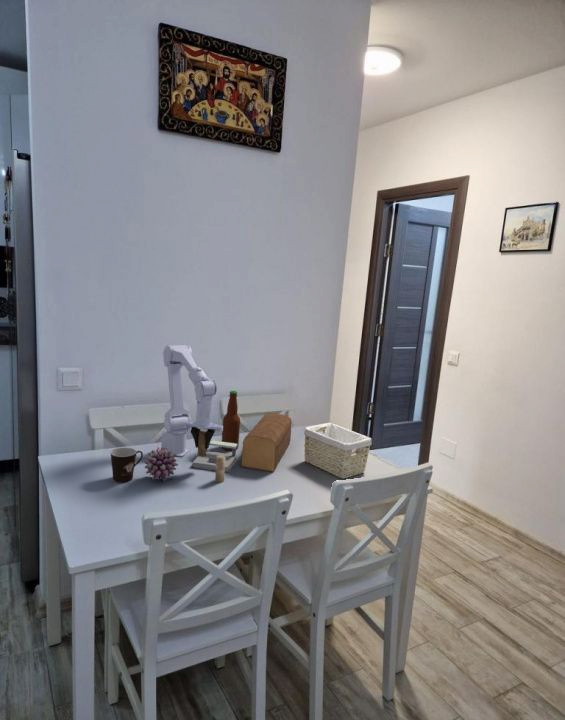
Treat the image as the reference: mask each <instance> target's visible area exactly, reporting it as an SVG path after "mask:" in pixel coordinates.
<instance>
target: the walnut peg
mask: <svg viewBox="0 0 565 720" xmlns="http://www.w3.org/2000/svg"><path fill="white" fill-rule="evenodd" d="M206 431H207V430H200V431H199V436H198V448H197V457H198V456H200V457H204V456H206V449H205V445H206Z"/></svg>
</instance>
